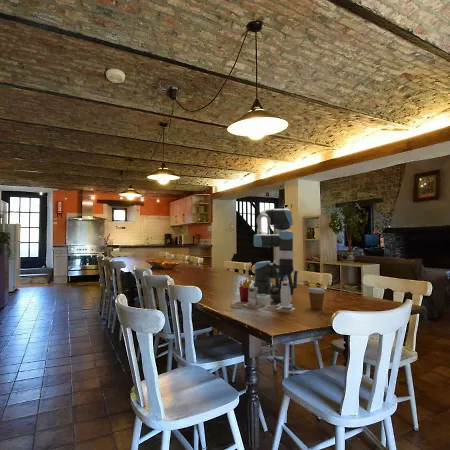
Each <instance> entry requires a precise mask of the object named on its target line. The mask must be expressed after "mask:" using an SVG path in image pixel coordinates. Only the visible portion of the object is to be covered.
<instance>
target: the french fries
mask: <svg viewBox="0 0 450 450" xmlns="http://www.w3.org/2000/svg"><path fill="white" fill-rule="evenodd" d="M254 284H255V281H254V282H253V281H252V279H251V278H250V279H249V280H248V278H246V279H243V280H240V283H239V286H238V290H239V300H240V301H239V302H248V288H249V287H253V286H254Z"/></svg>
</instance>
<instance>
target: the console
mask: <svg viewBox="0 0 450 450" xmlns="http://www.w3.org/2000/svg"><path fill="white" fill-rule="evenodd" d="M271 300H272V299H271V295H269V294H266V297H260V296H258V294H257V304H262V307H266V306H267V305H272V303H271Z"/></svg>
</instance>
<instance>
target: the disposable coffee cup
mask: <svg viewBox="0 0 450 450" xmlns="http://www.w3.org/2000/svg"><path fill="white" fill-rule="evenodd" d="M325 293H326V290H325V288H324V287H318V286H317V287H315V286H314V287H312V286H311V287H308V294H309V301H310V302H309V303H310V309H314V310H320V311H323V306H324V298H325Z"/></svg>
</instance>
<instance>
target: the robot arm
mask: <svg viewBox="0 0 450 450" xmlns="http://www.w3.org/2000/svg"><path fill="white" fill-rule="evenodd" d="M293 224H294V223H293V215H292V210H291V209H290V208H267V209H264V210H263V211H260V213H259V214H258V215H257V217H256V225H257V233H255V234H254V235H253V246H254V247H256V248H257V247H259V248H275V259H274V260H273V262H271V261H270V260H262V261H258V262H256V263H254V282H255V284H254V285H253V286H252V287H257V295H258V294H266V295H269V289H270V288H271V287H272V283H271V279H274V280H275V281H274V282H275V285H276V287H278V288H279V294H281V282H282V281H285V280H287V281H289V285H290V289H289V302H290V301H291V302H292V301H293V299H292V297H293V296H294V290H295V289H297V287H298V274H299V270H298V269H297V270H296V269H295V268H294V259H293V258H294V233H293V231H292V230H290V229H291V227H292V226H293ZM270 226H273V228H274V229H275V234H271V233H270ZM292 273H293V278H292Z"/></svg>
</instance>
